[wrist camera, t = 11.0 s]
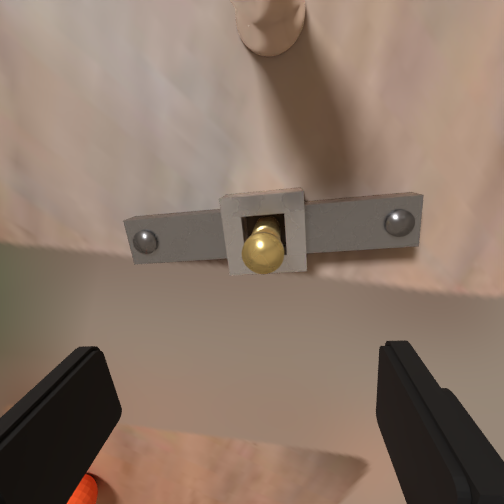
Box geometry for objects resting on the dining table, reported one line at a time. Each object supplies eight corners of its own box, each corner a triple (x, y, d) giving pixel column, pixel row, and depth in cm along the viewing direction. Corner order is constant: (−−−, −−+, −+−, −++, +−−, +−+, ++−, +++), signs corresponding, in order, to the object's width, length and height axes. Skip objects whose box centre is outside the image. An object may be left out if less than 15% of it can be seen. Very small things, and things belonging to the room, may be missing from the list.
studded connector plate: (412, 176, 27) (432, 179, 23) (406, 252, 29) (423, 264, 26) (131, 203, 31) (113, 208, 27) (147, 268, 33) (132, 280, 30)
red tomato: (115, 475, 47) (88, 527, 40) (107, 497, 49) (80, 551, 42) (72, 458, 46) (37, 508, 40) (66, 481, 49) (32, 533, 42)
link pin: (281, 211, 29) (282, 232, 21) (284, 241, 30) (285, 272, 22) (251, 214, 30) (239, 235, 21) (254, 243, 31) (243, 275, 22)
